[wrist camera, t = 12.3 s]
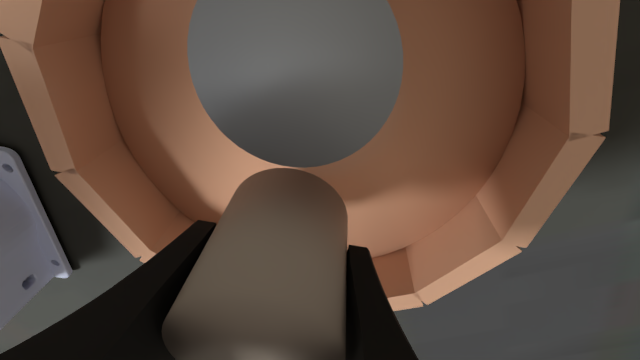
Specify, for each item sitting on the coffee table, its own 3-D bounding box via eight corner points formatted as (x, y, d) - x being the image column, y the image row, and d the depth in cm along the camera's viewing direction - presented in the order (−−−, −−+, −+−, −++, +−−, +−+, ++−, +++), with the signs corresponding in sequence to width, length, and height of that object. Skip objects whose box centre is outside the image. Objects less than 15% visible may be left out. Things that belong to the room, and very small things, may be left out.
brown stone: (343, 263, 13) (340, 403, 8) (238, 254, 13) (184, 386, 9) (352, 171, 10) (352, 305, 6) (223, 163, 10) (137, 286, 6)
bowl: (440, 284, 18) (457, 342, 15) (139, 235, 18) (97, 285, 15) (677, -144, 8) (858, -212, 5) (11, -257, 8) (-179, -389, 5)
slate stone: (372, 104, 12) (384, 174, 7) (257, 96, 12) (205, 160, 8) (392, -39, 9) (426, -54, 5) (247, -45, 9) (164, -66, 5)
